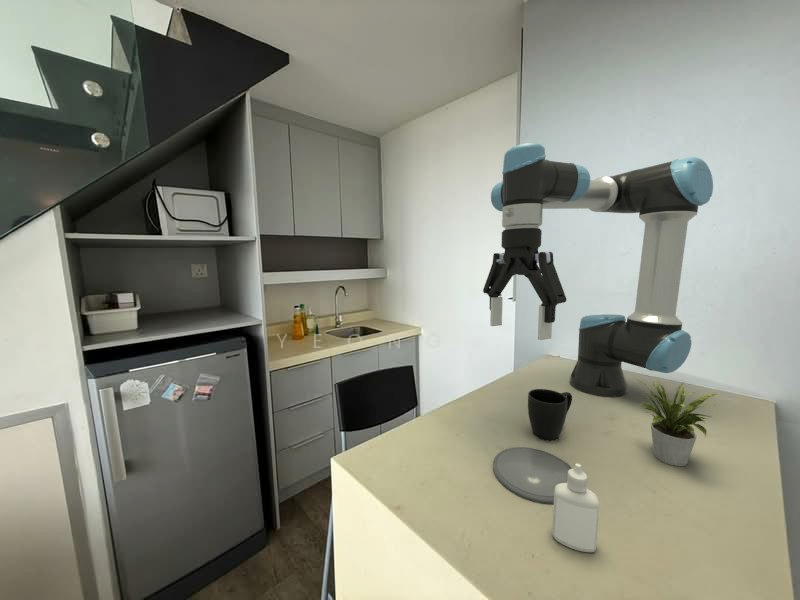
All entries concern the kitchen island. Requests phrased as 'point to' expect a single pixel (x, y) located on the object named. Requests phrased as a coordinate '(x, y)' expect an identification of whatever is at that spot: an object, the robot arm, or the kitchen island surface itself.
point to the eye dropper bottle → (575, 513)
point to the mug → (548, 412)
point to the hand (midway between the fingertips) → (518, 331)
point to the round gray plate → (530, 473)
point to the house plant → (674, 426)
